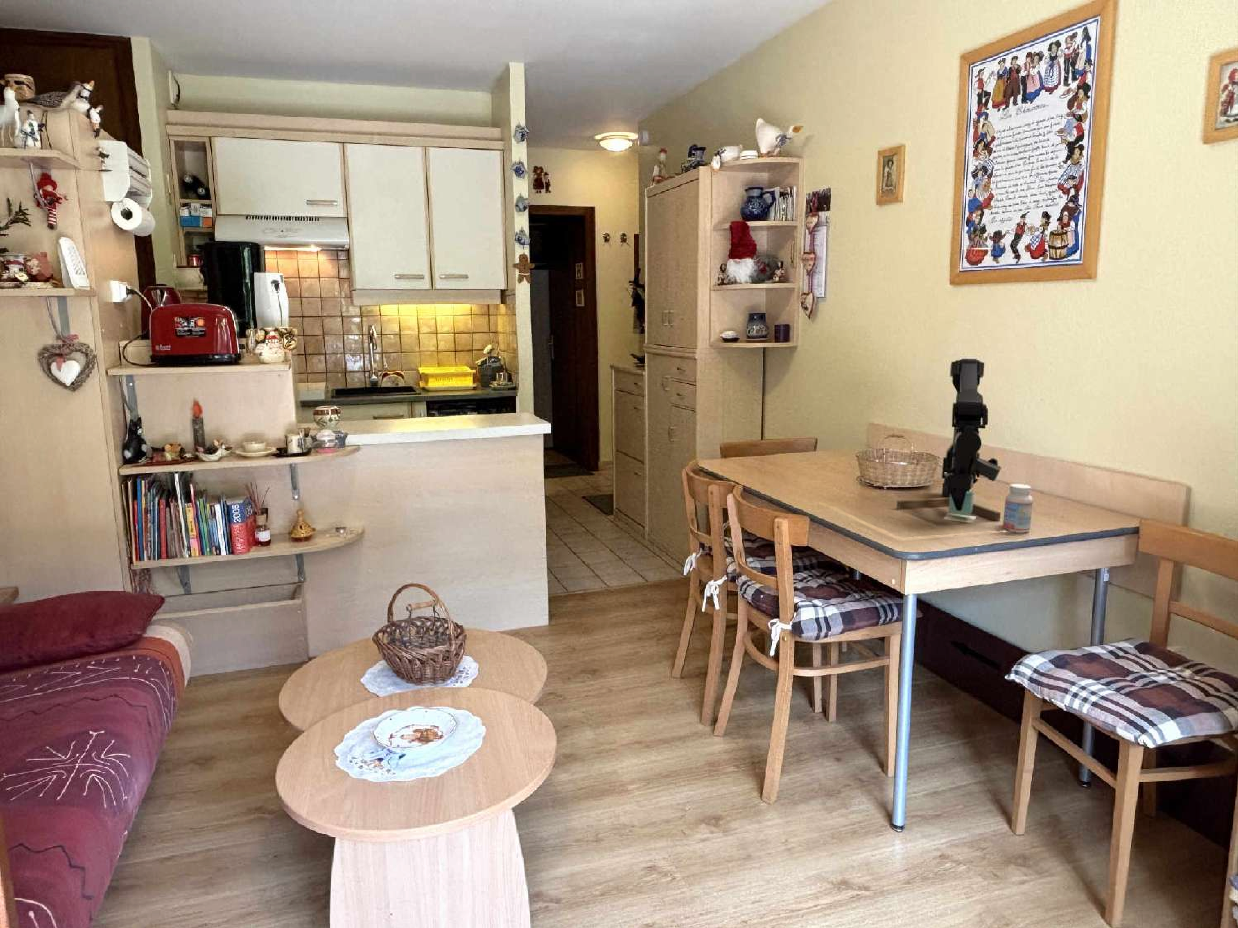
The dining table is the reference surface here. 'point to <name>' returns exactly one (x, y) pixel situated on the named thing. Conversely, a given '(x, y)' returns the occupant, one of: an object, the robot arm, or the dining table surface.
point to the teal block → (966, 506)
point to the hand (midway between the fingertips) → (960, 508)
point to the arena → (945, 512)
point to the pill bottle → (1018, 509)
